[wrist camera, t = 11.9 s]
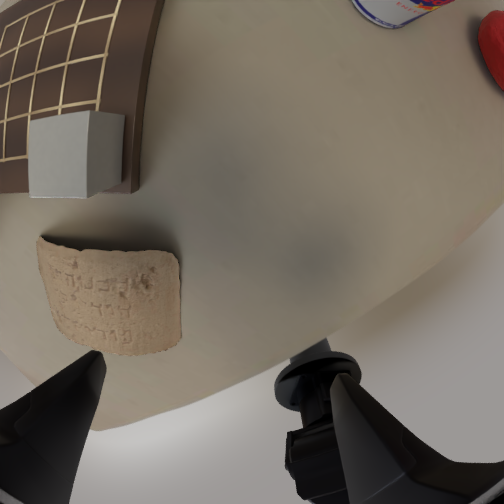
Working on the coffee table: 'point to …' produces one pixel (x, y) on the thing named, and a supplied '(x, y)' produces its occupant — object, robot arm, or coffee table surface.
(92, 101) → the grid board
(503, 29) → the hollow red tomato
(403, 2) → the energy drink
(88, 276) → the clay tablet
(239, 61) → the coffee table surface
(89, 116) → the gray cube
